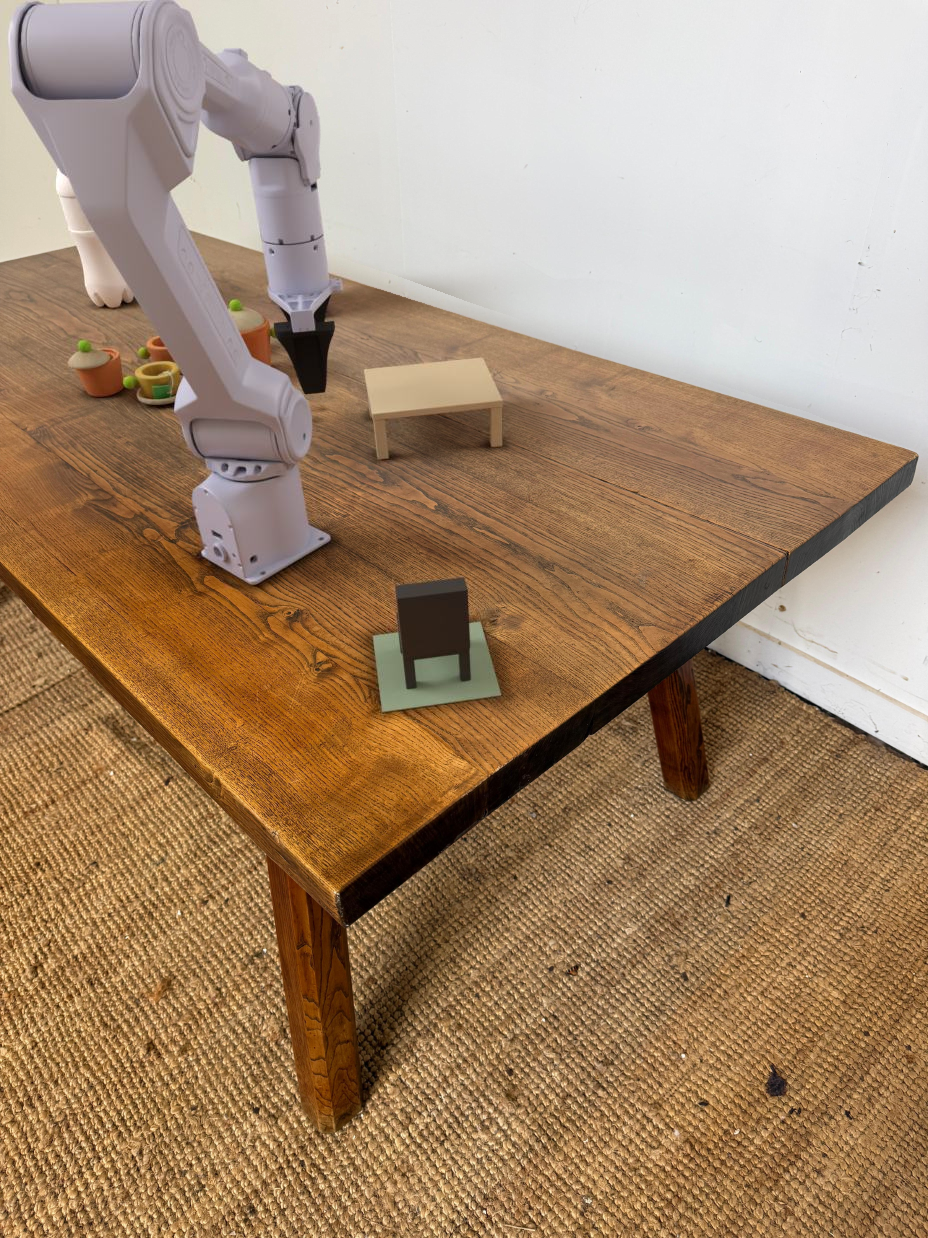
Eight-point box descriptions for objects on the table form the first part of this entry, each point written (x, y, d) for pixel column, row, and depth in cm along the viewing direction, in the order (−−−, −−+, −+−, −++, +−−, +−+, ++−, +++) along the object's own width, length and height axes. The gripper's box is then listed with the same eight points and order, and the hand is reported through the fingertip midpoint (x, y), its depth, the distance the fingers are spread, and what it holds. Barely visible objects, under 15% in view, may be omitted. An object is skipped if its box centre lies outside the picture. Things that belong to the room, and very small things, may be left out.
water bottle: (81, 308, 138) (26, 129, 122) (108, 293, 143) (58, 119, 128) (121, 311, 136) (69, 129, 121) (146, 296, 142) (100, 119, 126)
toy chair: (472, 684, 67) (467, 589, 62) (407, 693, 67) (396, 598, 61) (461, 639, 71) (456, 547, 66) (399, 647, 71) (389, 555, 65)
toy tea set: (250, 337, 126) (237, 267, 120) (302, 370, 116) (290, 296, 110) (67, 388, 114) (42, 313, 108) (106, 429, 104) (81, 350, 98)
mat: (501, 696, 66) (501, 695, 66) (382, 712, 65) (382, 711, 65) (480, 622, 73) (480, 621, 73) (372, 636, 72) (372, 635, 72)
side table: (503, 446, 97) (502, 399, 94) (377, 460, 96) (371, 413, 92) (484, 400, 106) (483, 356, 103) (368, 413, 105) (363, 368, 102)
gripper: (339, 255, 76) (357, 402, 84) (332, 212, 87) (349, 346, 96) (257, 262, 75) (283, 410, 84) (260, 218, 86) (283, 352, 95)
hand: (313, 376), depth 90 cm, fingers open, 7 cm apart
